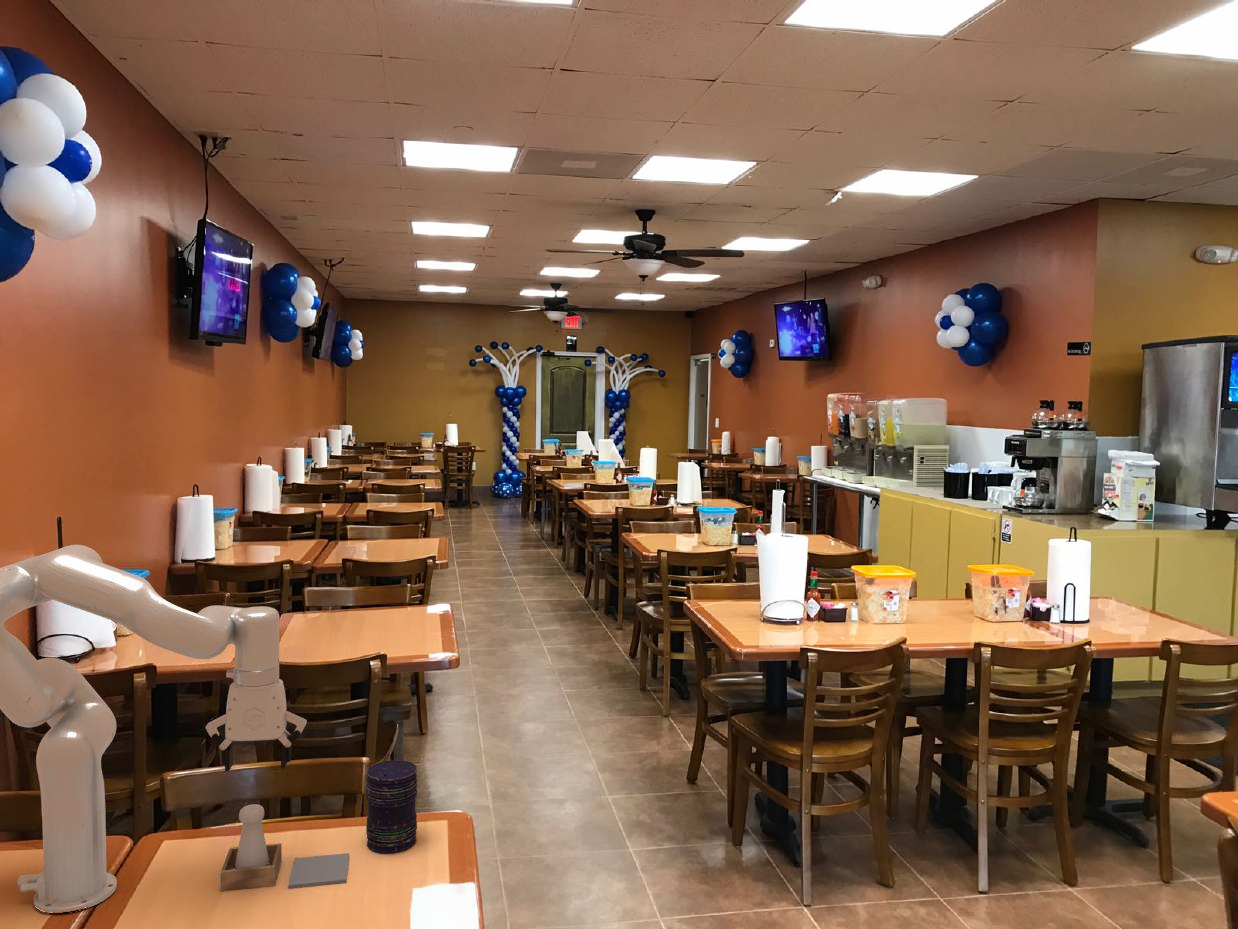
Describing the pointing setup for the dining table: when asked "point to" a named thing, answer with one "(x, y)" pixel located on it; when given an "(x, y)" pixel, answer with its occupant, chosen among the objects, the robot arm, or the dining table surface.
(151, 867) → the dining table surface
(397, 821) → the dark blue cylinder
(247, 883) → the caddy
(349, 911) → the dining table surface
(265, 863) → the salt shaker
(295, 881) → the coaster
